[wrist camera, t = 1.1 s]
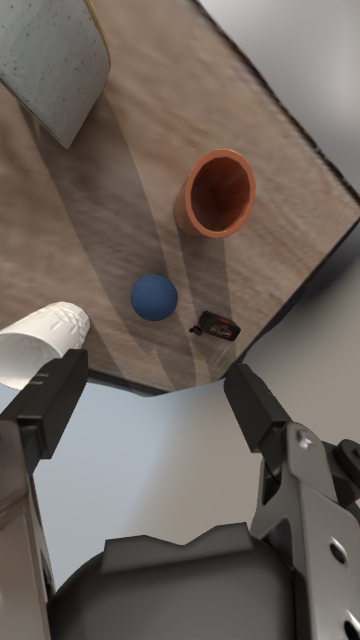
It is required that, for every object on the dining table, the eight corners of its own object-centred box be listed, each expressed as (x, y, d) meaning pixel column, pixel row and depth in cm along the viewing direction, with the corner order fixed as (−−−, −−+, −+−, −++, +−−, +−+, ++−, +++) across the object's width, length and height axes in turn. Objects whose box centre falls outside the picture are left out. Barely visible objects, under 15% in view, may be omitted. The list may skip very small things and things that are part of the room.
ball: (129, 305, 27) (123, 324, 21) (137, 265, 24) (132, 274, 19) (168, 313, 28) (172, 333, 23) (179, 276, 26) (187, 287, 20)
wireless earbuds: (199, 306, 29) (204, 314, 26) (233, 320, 31) (242, 328, 28) (188, 329, 30) (191, 339, 27) (221, 340, 32) (227, 350, 30)
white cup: (98, 341, 29) (74, 388, 20) (47, 343, 28) (-3, 394, 19) (89, 297, 25) (55, 330, 16) (30, 297, 24) (-41, 333, 15)
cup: (168, 229, 23) (176, 225, 15) (181, 173, 20) (199, 133, 12) (209, 243, 24) (237, 246, 16) (226, 192, 22) (268, 168, 14)
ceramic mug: (124, 88, 17) (102, -17, 10) (79, 163, 19) (35, 118, 12) (5, -66, 13) (-168, -418, 6) (-36, 50, 15) (-204, -116, 8)
